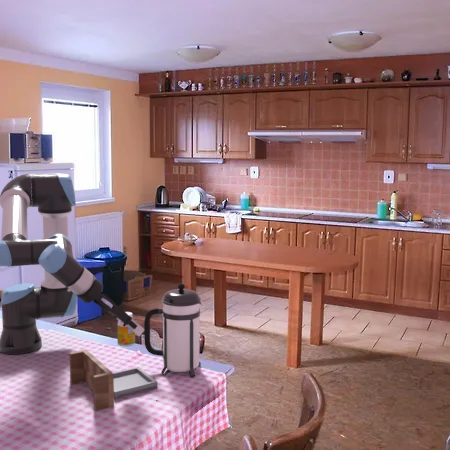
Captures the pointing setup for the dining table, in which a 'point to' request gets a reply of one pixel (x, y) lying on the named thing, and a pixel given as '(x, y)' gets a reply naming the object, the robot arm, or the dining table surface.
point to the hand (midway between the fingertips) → (137, 329)
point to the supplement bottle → (125, 334)
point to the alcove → (93, 377)
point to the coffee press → (178, 330)
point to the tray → (132, 382)
